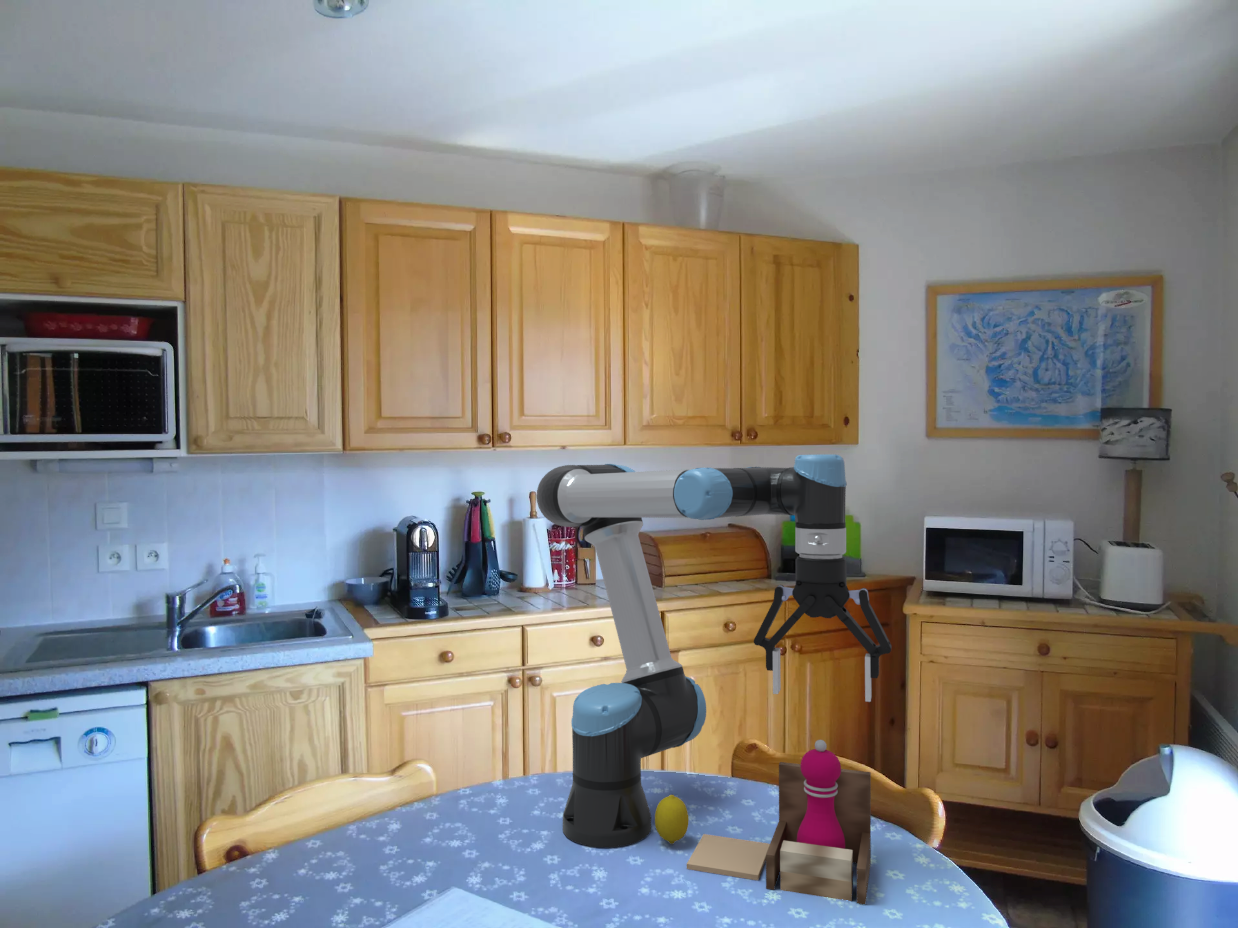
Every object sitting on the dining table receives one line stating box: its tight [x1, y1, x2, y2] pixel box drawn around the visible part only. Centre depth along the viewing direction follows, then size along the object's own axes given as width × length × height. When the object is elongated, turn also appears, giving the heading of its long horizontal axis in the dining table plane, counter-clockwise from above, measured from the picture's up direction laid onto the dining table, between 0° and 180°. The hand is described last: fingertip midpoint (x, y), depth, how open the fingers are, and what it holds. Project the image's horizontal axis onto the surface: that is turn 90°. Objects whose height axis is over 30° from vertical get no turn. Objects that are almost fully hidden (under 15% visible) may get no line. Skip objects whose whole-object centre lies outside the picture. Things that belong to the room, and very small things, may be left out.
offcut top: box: [780, 840, 854, 882], centre depth 124 cm, size 10×4×3 cm, turn 72°
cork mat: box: [686, 833, 770, 881], centre depth 134 cm, size 11×11×1 cm
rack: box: [765, 761, 872, 905], centre depth 128 cm, size 14×14×14 cm
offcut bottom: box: [780, 871, 854, 902], centre depth 124 cm, size 10×4×3 cm, turn 71°
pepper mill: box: [797, 739, 845, 849], centre depth 129 cm, size 7×7×20 cm
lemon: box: [654, 794, 690, 845], centre depth 139 cm, size 6×6×8 cm
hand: (821, 695), depth 129 cm, fingers open, 13 cm apart
